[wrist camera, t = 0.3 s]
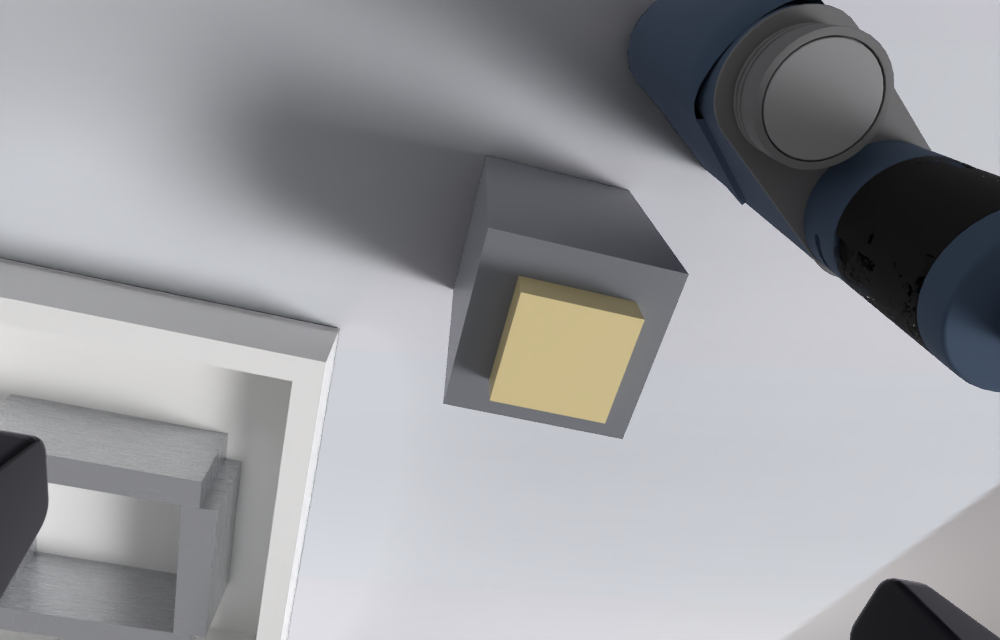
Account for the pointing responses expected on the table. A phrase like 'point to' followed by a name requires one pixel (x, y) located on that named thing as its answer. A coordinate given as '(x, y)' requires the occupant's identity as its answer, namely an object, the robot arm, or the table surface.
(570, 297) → the block
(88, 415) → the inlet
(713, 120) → the vaping device
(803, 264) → the table surface
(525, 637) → the table surface
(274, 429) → the walled tray
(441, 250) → the table surface
